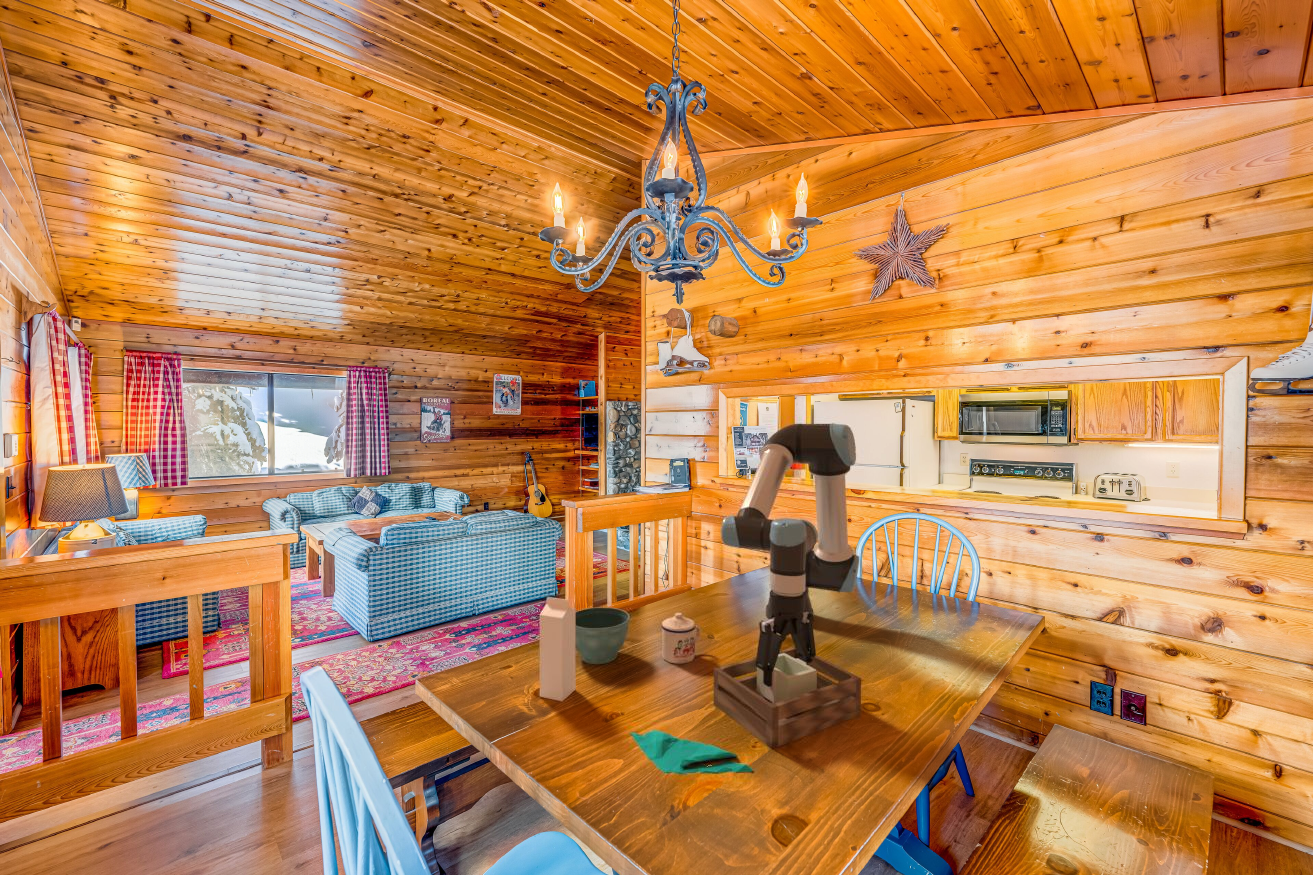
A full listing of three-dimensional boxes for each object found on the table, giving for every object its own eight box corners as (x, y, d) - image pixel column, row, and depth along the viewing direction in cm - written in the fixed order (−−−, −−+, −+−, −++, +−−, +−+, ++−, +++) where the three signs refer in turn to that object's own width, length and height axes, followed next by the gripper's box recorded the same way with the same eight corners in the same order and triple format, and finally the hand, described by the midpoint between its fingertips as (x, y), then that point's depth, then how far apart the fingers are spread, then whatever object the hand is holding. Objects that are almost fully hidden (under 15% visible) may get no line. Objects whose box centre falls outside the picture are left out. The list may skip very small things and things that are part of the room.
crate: (796, 678, 133) (797, 645, 132) (860, 714, 116) (861, 677, 116) (713, 704, 120) (713, 668, 120) (771, 749, 104) (772, 707, 103)
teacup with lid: (675, 667, 138) (675, 622, 138) (654, 655, 145) (654, 612, 145) (710, 656, 145) (711, 613, 145) (689, 644, 152) (689, 603, 152)
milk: (553, 685, 129) (553, 592, 128) (575, 689, 126) (576, 595, 126) (539, 697, 123) (539, 600, 122) (562, 702, 121) (562, 603, 120)
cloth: (609, 747, 105) (609, 735, 105) (654, 717, 116) (654, 707, 116) (723, 808, 89) (723, 795, 89) (763, 767, 99) (763, 755, 99)
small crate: (783, 682, 124) (784, 652, 124) (816, 702, 116) (816, 669, 115) (756, 691, 120) (756, 659, 120) (788, 711, 112) (788, 678, 112)
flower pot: (556, 656, 144) (556, 616, 144) (603, 639, 155) (603, 602, 155) (593, 677, 132) (593, 633, 132) (641, 657, 144) (642, 617, 144)
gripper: (809, 580, 126) (808, 676, 126) (738, 593, 116) (737, 698, 116) (834, 588, 119) (833, 690, 120) (761, 603, 109) (760, 715, 110)
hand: (785, 694), depth 118 cm, fingers closed on small crate, 8 cm apart
